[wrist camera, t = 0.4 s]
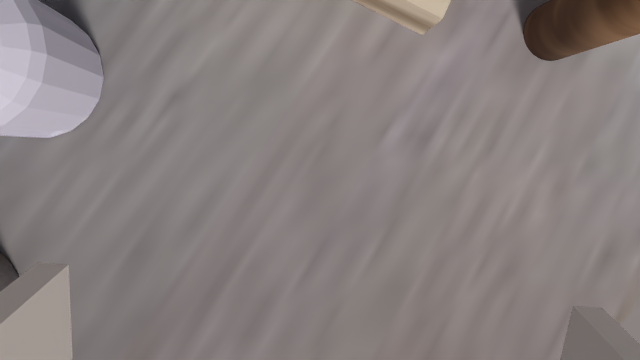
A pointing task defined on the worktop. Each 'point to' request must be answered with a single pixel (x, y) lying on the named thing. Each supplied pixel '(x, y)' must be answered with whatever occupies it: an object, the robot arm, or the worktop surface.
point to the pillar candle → (6, 272)
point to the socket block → (410, 12)
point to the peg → (579, 26)
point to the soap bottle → (44, 71)
